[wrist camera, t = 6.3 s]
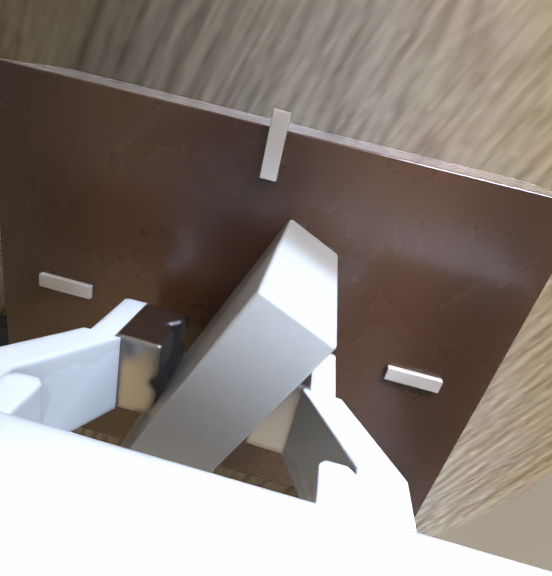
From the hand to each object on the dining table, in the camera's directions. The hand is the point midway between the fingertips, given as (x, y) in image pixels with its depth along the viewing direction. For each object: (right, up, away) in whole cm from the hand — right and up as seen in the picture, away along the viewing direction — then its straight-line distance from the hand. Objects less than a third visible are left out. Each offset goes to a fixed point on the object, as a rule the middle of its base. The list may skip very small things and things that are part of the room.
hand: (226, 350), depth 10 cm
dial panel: (+1, +2, +3) cm, 4 cm away
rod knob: (0, 0, +1) cm, 1 cm away
